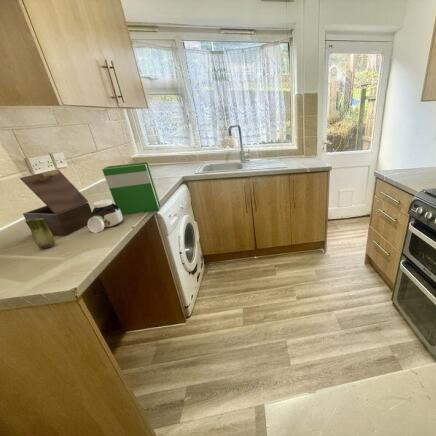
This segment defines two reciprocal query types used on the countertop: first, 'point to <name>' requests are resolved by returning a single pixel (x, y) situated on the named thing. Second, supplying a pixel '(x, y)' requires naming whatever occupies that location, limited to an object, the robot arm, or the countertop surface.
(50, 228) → the chest
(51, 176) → the chest lid
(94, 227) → the spread jar
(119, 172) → the hardback book
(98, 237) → the countertop surface
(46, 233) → the fennel bulb
